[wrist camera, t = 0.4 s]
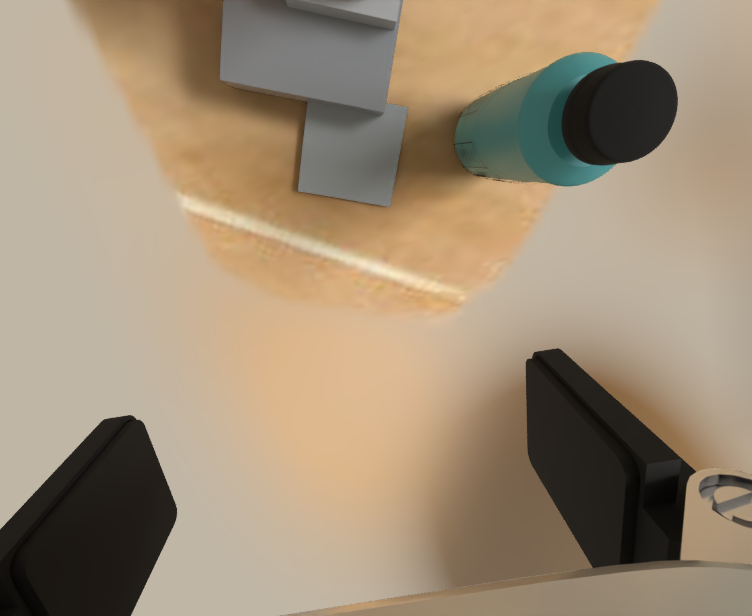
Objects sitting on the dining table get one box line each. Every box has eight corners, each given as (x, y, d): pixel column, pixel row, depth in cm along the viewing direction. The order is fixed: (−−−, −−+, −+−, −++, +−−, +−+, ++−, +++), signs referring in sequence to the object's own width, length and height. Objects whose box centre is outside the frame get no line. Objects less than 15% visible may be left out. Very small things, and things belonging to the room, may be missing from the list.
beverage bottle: (451, 183, 37) (557, 211, 18) (443, 100, 35) (555, 33, 16) (524, 171, 37) (706, 186, 18) (521, 87, 35) (726, 5, 16)
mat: (309, 88, 34) (309, 87, 33) (407, 108, 35) (408, 107, 34) (298, 190, 36) (297, 191, 36) (389, 206, 37) (390, 207, 37)
